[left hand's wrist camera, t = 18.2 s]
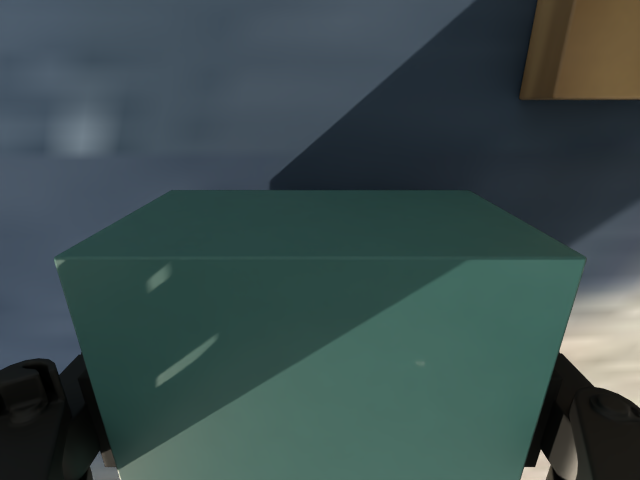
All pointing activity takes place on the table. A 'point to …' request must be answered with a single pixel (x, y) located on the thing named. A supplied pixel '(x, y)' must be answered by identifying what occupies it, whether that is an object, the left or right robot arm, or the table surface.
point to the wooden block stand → (584, 51)
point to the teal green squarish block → (320, 334)
